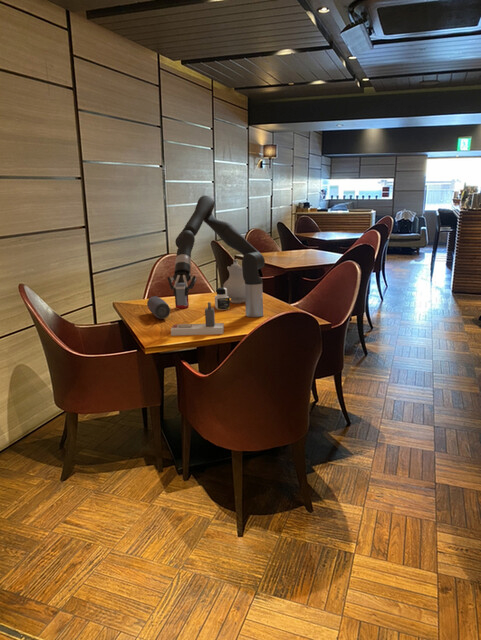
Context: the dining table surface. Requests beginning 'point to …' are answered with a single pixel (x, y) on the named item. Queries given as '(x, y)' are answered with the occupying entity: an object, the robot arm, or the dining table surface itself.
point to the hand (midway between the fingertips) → (180, 295)
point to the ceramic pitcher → (235, 283)
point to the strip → (200, 326)
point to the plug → (181, 294)
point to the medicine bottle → (222, 299)
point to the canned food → (181, 305)
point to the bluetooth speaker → (158, 307)
